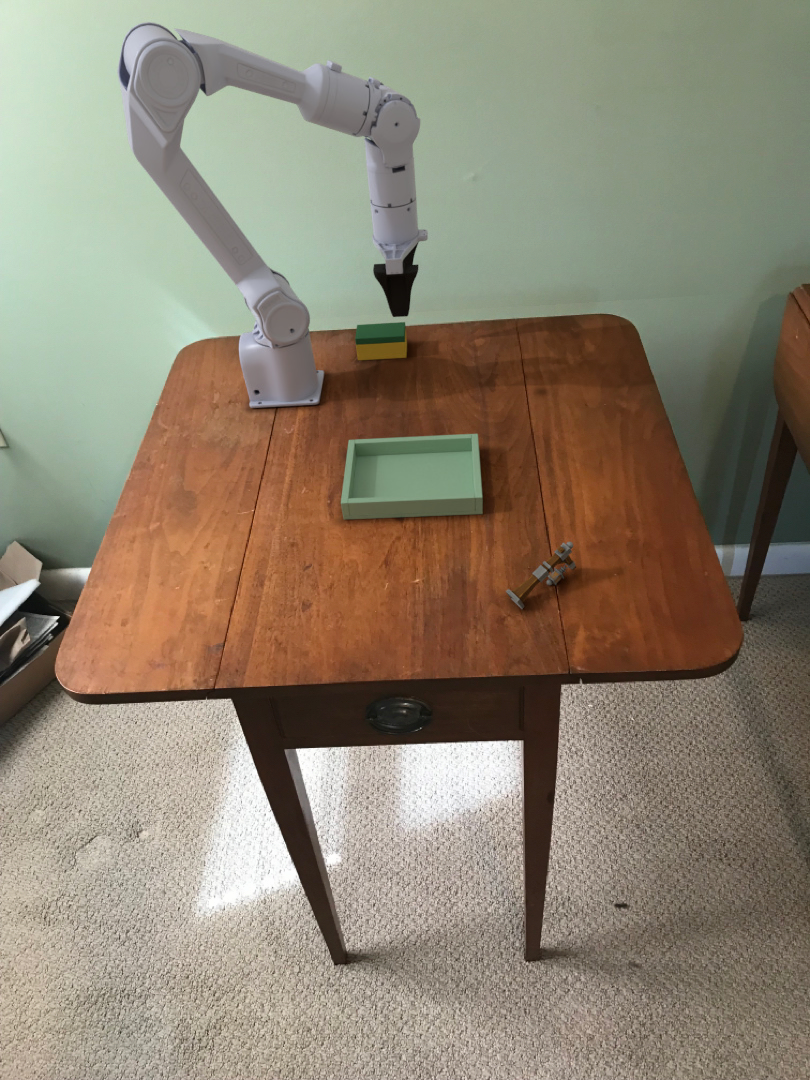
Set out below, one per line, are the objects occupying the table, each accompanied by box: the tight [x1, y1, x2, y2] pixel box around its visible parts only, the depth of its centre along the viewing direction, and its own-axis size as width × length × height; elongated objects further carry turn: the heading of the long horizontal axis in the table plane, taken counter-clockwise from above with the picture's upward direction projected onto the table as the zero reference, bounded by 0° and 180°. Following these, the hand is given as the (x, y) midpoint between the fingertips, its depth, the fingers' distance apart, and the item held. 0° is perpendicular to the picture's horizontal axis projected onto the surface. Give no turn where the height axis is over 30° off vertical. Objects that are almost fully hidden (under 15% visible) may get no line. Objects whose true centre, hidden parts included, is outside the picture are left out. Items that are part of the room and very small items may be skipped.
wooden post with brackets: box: [505, 541, 577, 610], centre depth 76 cm, size 2×8×4 cm, turn 123°
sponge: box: [354, 321, 408, 361], centre depth 111 cm, size 7×4×4 cm, turn 89°
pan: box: [340, 433, 484, 521], centre depth 89 cm, size 16×12×2 cm
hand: (401, 301), depth 104 cm, fingers open, 7 cm apart
